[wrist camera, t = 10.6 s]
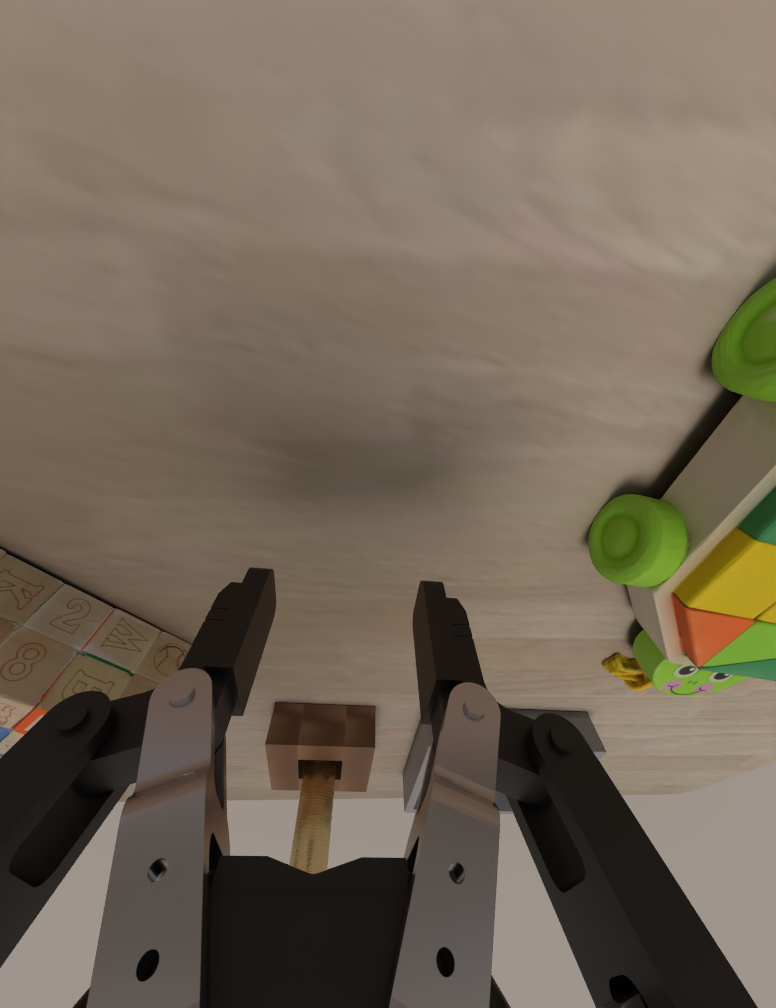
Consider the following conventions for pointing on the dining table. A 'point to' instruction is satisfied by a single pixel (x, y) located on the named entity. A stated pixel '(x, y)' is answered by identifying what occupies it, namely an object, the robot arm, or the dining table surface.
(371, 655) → the dining table surface
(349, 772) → the pin base
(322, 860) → the pin
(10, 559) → the stack of blocks
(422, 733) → the pin tray
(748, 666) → the wooden turtle toy
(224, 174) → the dining table surface
